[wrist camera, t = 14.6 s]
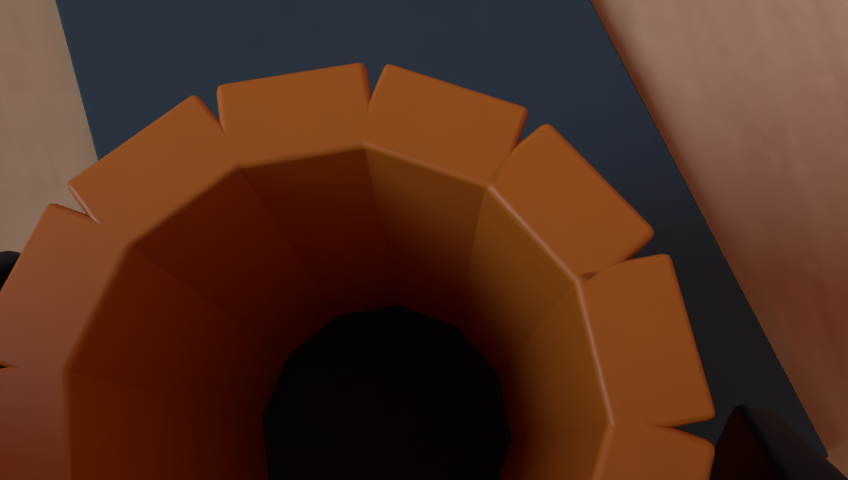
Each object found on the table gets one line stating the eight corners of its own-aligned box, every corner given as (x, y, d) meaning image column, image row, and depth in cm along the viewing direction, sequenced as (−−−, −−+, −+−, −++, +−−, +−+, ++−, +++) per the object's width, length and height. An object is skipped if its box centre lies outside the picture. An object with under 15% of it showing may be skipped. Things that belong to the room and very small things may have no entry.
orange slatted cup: (494, 676, 13) (591, 1005, 5) (156, 537, 14) (-199, 646, 6) (598, 326, 15) (781, 186, 7) (295, 220, 15) (162, -13, 8)
